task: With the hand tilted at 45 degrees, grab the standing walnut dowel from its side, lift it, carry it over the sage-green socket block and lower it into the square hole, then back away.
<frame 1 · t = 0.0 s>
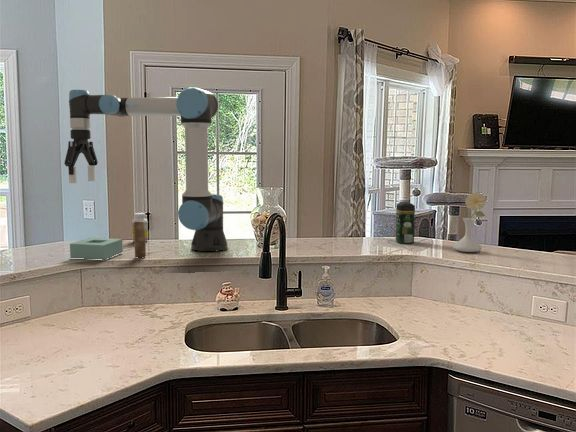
hand: (82, 182, 221), 28 cm above the worktop, tool pointing down, fingers open, 13 cm apart
flower in vase: (469, 252, 226), on the worktop
dowel: (140, 257, 209), on the worktop
supplement bottle: (140, 242, 244), on the worktop
coffee jar: (404, 242, 247), on the worktop
socket block: (97, 256, 210), on the worktop
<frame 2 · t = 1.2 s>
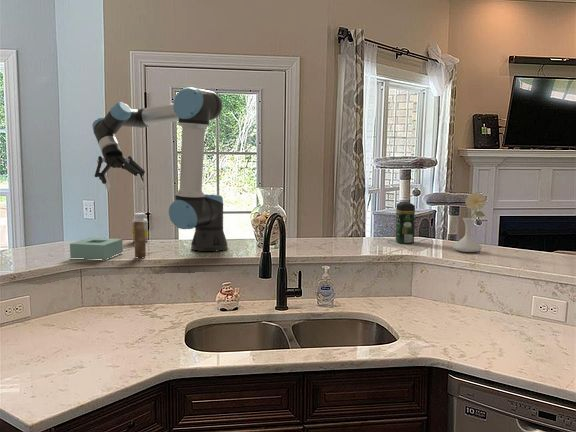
hand: (126, 188, 214), 26 cm above the worktop, tool tilted 45°, fingers open, 13 cm apart
nothing on the worktop moved.
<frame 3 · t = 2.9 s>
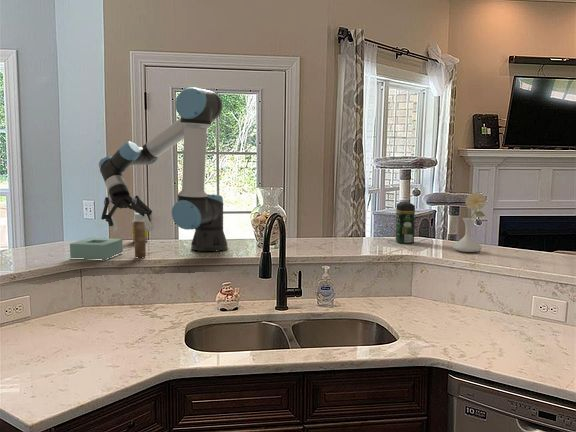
hand: (133, 230, 211), 10 cm above the worktop, tool tilted 45°, fingers open, 13 cm apart
nothing on the worktop moved.
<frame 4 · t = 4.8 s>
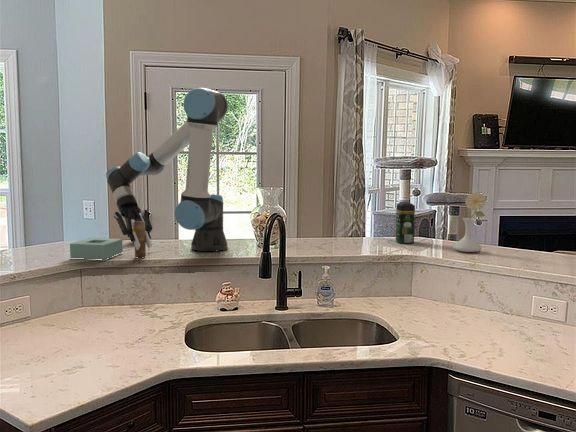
hand: (144, 246, 206), 5 cm above the worktop, tool tilted 45°, fingers closed on dowel, 4 cm apart
dowel: (140, 257, 209), on the worktop, touching gripper
everything else where it was.
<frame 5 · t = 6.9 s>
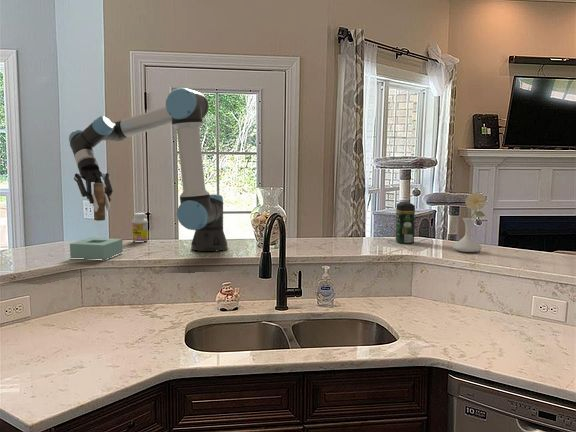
hand: (103, 208, 205), 19 cm above the worktop, tool tilted 45°, fingers closed on dowel, 4 cm apart
dowel: (99, 219, 209), point 14 cm above the worktop, touching gripper
everything else where it was.
when the fingers open (8 cm above the worktop, at t = 9.3 s): dowel drops 2 cm, resting on socket block.
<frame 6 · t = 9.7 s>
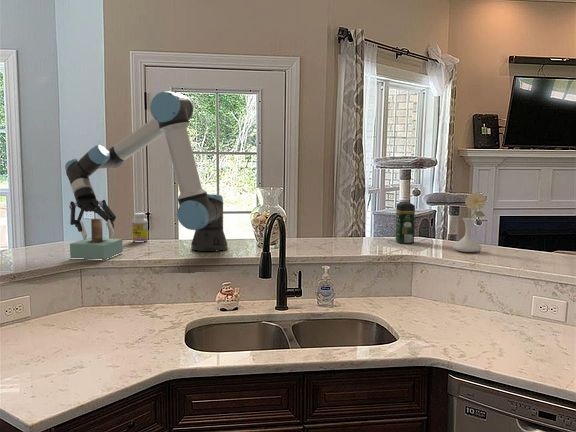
hand: (99, 236, 207), 8 cm above the worktop, tool tilted 45°, fingers open, 10 cm apart
dowel: (97, 255, 211), point 1 cm above the worktop, touching socket block
everything else where it was.
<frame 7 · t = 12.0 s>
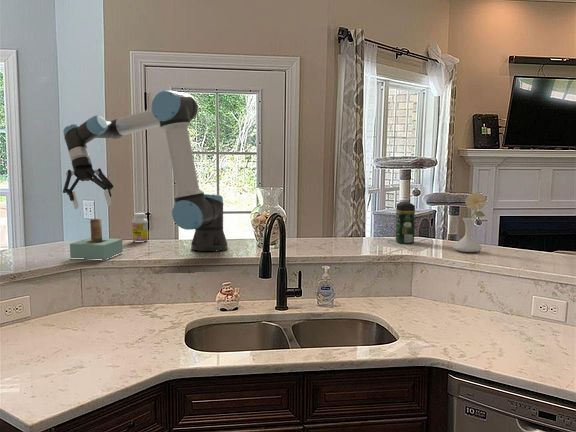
hand: (93, 206, 220), 18 cm above the worktop, tool tilted 30°, fingers open, 13 cm apart
nothing on the worktop moved.
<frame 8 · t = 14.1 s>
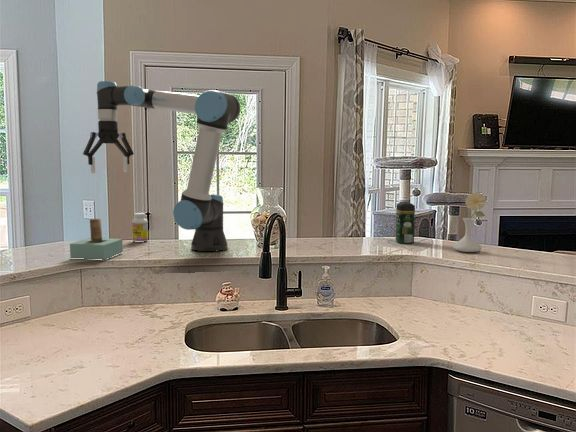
hand: (109, 172, 224), 32 cm above the worktop, tool pointing down, fingers open, 13 cm apart
nothing on the worktop moved.
at the end: dowel 0.1 cm off-centre on the socket block, point 0.5 cm above the socket block's base; dowel tilted 1°; the gripper is holding nothing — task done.
